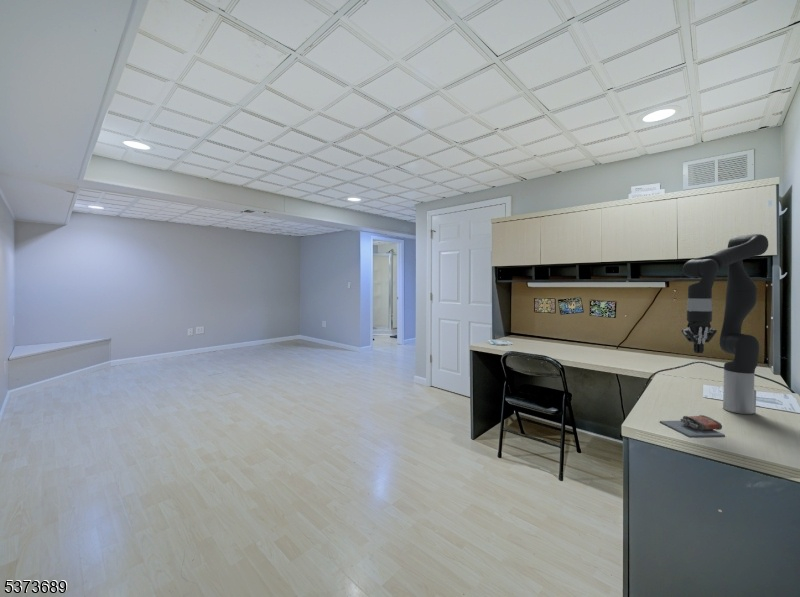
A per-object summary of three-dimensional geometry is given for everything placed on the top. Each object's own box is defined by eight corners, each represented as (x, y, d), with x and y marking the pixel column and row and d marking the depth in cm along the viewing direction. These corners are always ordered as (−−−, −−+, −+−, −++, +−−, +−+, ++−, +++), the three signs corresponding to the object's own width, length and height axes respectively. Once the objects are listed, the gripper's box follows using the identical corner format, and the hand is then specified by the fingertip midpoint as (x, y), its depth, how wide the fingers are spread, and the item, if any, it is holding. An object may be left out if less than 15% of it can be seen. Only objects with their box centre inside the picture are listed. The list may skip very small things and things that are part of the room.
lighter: (699, 421, 129) (676, 422, 128) (700, 413, 129) (677, 414, 128) (721, 431, 121) (696, 433, 120) (722, 422, 121) (697, 424, 120)
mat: (691, 421, 131) (691, 420, 131) (724, 436, 118) (725, 434, 118) (659, 422, 130) (659, 420, 130) (689, 437, 117) (689, 435, 117)
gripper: (706, 309, 136) (705, 350, 137) (675, 309, 136) (674, 351, 136) (724, 310, 129) (723, 354, 129) (692, 310, 128) (691, 355, 129)
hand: (698, 352), depth 133 cm, fingers closed
